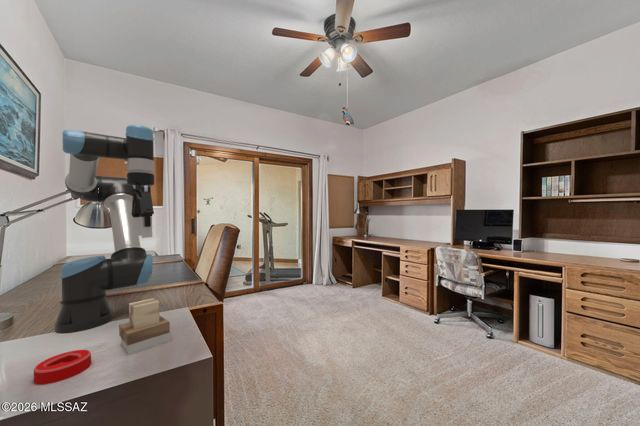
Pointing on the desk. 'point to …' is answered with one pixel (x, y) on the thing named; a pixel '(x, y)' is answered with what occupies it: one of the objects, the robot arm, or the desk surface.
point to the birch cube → (143, 313)
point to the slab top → (143, 331)
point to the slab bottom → (146, 343)
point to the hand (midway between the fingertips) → (142, 236)
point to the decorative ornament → (62, 367)
